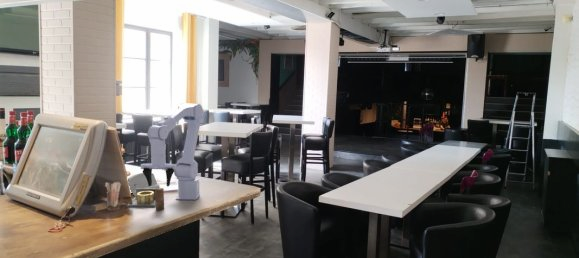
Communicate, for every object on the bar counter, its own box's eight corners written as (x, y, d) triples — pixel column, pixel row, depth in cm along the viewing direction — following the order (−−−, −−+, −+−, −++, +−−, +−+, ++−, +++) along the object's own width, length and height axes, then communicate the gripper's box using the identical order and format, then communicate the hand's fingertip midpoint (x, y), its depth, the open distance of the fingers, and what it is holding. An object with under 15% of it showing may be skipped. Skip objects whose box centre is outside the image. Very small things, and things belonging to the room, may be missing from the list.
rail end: (165, 208, 183) (164, 187, 181) (162, 210, 179) (162, 190, 178) (157, 208, 183) (156, 187, 181) (154, 210, 179) (153, 190, 178)
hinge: (133, 196, 199) (128, 175, 200) (127, 198, 202) (121, 178, 202) (160, 188, 214) (155, 169, 214) (154, 190, 216) (149, 171, 217)
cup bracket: (163, 199, 196) (162, 188, 195) (155, 207, 184) (154, 196, 183) (137, 198, 196) (136, 188, 195) (127, 206, 184) (126, 195, 183)
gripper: (137, 155, 174) (138, 188, 176) (173, 156, 174) (173, 188, 176) (143, 152, 181) (144, 183, 183) (177, 152, 181) (178, 184, 183)
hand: (159, 185), depth 180 cm, fingers open, 7 cm apart
